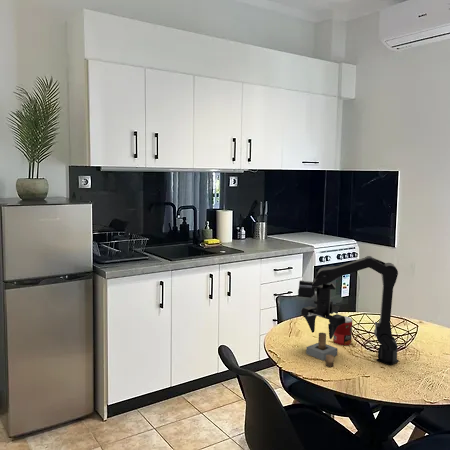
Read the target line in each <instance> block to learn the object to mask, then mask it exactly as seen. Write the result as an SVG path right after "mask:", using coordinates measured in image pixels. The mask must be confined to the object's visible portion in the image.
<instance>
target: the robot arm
mask: <svg viewBox="0 0 450 450" xmlns="http://www.w3.org/2000/svg"><path fill="white" fill-rule="evenodd" d="M368 268H370V269H371V270H373V271H375V272H376V273H378V274H380V275H381V282H382V292H381V293H382V294H381V302H380V303H381V304H380V317H379V320H378V322H377V321H375V322H374V326H375V327H374V330H373V332H374V336H375V338H376V340H377V342H378V343H379V346H378V347H377V358H376V362H380V363H383V364H386V365H388V366H393V365H394V364H397V363H398V362H399V361H400V360H399V359H398V344H397V340H396V339H395V337H394V336H393V335H392V327H391V326H392V325H391V318H392V317H391V315H392V305H393V293H394V287H395V285H396V282H397V279H398V275H399V271H398V269H397V266H395V265H394V263H392V262H384V261H382V260H379V259H377V258H374V257H373V256H371V255H367V256H365V257H362V258H359V259H356V260H353V261H350V262H346V263H343V264H341V265H336V266H325V267H321V268H319V269H318V271H317V275H316V276H315V278H313V280H312V281H304V280H299V283H298V290H297V296H298V298H306V299H307V298H309V299H313V297H315V300H314V302H313V304H314V305H315V307H314V306H311V305H309V306H304V307H302V308H301V312H300V315H301V316H303V318H304V319H305V321H306V322H307V324H308V326H309V329H310V331H311V333H314V332H315V329H316V328H315V327H316V318H317V317H319V318H322V319H326V320H328V322H329V323H328V324H327V325H328V328H327V329H328V336H329V339H330V340H331V339H333V336H334V333H335V331H336V329H337V327H338V326H339V325H342V324H344V323H345V317H344V316H345V315H341V314H339V313H338V312H339V310H340V306H338V305H335V304H333V301H332V300H331V296H332V294H331V293H332V291H333V290H336V289H337V288H336V285H335V284H334V283H333V281H335V280H337V279H338V278H340V277H342V276H346V275H348V274H352V273H355V272H359V271H361V270H366V269H368ZM334 313H335V314H334ZM332 314H333V315H332Z"/></svg>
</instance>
